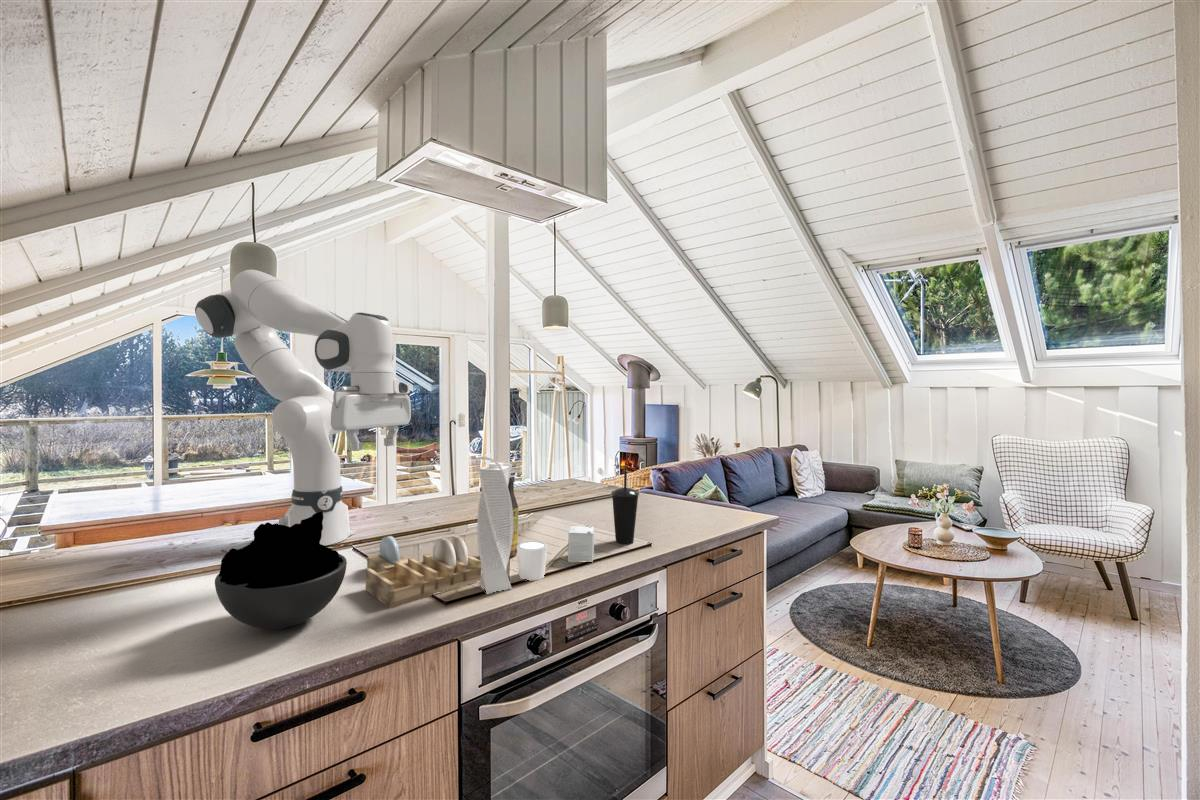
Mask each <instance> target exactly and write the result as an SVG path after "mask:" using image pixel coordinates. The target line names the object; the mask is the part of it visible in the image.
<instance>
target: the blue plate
mask: <svg viewBox="0 0 1200 800" xmlns="http://www.w3.org/2000/svg"><path fill="white" fill-rule="evenodd" d="M379 554H380V557H381V558H382V559H384V560H386V561H387V562H389V563H391V564H392V565H395V562H396V561H399V562H400V556H401V554H400V548H399V544H398V541H397V540H396V539H395V538H394V536H392V535H388V536H384V537H382V539H381V541H380V544H379Z"/></svg>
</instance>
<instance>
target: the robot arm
mask: <svg viewBox="0 0 1200 800" xmlns="http://www.w3.org/2000/svg"><path fill="white" fill-rule="evenodd" d="M194 311H195V317H196V320H197V322H198V324H199V326H200V327H201V328H202V330H203V331H204V332H205V333H206V334H207V335H209V336H212V338H217V339H218V338H219V339H221V338H229V337H232V336H233V335H236V336H235V338H234V347H235V349H236V351H237V353H238V355H239V358H241V361H243V363H244V365H245V366H246V368H247V369H248V371H249V372H250V373H251V374H252V375H253V376H254V377H255V379H256V381H258V382H259V384H260V385H261V386H262V387H263V389H265V391H266V392H267V393H268V394H269V395H270V396H271V397H272V398H274V399H276V400H279V401H281V402H280V403H278V404H277V405H276V406H275V407H274V410H273V411H272V416H271V421H272V425H273V428H274V430H275V432H277V433H278V434H279V435H280V436H281V437H282V438H283V439H284V440H285V441H286V444H287V446H288V448H289V451H290V454H291V458H292V463H293V489H292V492H291V499H290V500H291V501H290V502H291V504H290V507H289V508H288V510H287V511H285V513H284V516H283V517H281V516H280V517H278V524H279V525H285V526H289V527H291V526H293V525H294V524H300V523H301V520H304V519H307V518H309V517H312V515H313V514H315V513H318V512H321V511H322V512H323V518H324V519H323V521H322V524H323V530H322V535H321V540H320V544H321V545H324V546H329V545H334V544H338V543H340V542H343V541H344V540H347V538H349V537H350V536H352V535H354V534H356V532H355V529H353V528H350V520H349V519H350V516H349V506H348V505H347V504H346V503H344V502H343V501H342V500H343V496H344V495H343V494H344V491H343V486H342V484H341V458H340V456H339V455H338V453H336V452H335V451H334V450H333V447H332V445H331V441H330V437H329V436H330V435H336V434H340V433H342V432H344V431H345V435H346V438H347V439H348V440H349V442H350V450H351V451H353V452H357V451H362V450H364V449H363V441H360V440H359V438H358V435H359V434H360V430H363V429H364V430H366V429H374V428H375V429H376V428H386V431H388V432H387V435H386V437H385V438H383V445H384V447H392V446H393V447H394V446H395V438H396V437H397V434H398V431H399V426H406V425H409V423H410V421H411V419H412V418H411V417H412V403H411V397H410V396H409V395H408V394H410V393H411V385H410V384H409V383H406V382H404V381H401V380H400V379H398V378H396V377H395V371H394V368H393V360H394V354H395V352H394V346H395V345H394V333H393V328H392V324H391V321H390V319H388V318H387V317H386V316H383V315H379V314H374V313H373V314H372V313H368V312H356V313H353V314H352V316H351V317H350V318H349V319H348V320H346V319H344V318H343V317H341V316H339V315H337V314H335V313H333V312H331V311H330V310H328V309H327V308H325V307H323V306H321V305H320V304H318V303H317V302H315V301H313V300H312V299H310V298H308V297H307V296H305V295H303V294H302V293H300V292H299V291H297V290H296V289H295V288H293V287H292V286H290V285H289V284H287V283H286V282H284V281H283V280H281V279H279V278H278V277H275V276H273V275H271V274H268V273H266V272H263V271H261V270H257V269H246V270H243V271H241V272H239V273H237V274H236V275H235V276H234V278H233V279H232V280H231V284H230V289H229V290H226V291H222V292H220V293H217V294H211V295H208V296H206V297H204V298H202V299H200V300H199V301H198V302H197V303H196V306H195V308H194ZM277 331H279V332H282V333H283V332H284V333H290V334H291V333H293V334H298V335H299V334H301V335H309V336H315V337H317V339H316V340H315V343H314V356H315V358H316V361H317V363H318V364H319V365H320V366H321V367H322V368H323V369H325V370H327V371H332V372H342V373H343V372H344V373H350V385H349V386H346V385H342V386H339V387H338V388H337V389H336V390H335V391H334V390H333V389H332V388H330V387H329V386H327V385H326V383H324V382H323V381H321V380H320V379H319V378H317V377H316V376H315V375H314V374H312V372H310V371H309V369H307V368H306V366H305V365H304V364H303V363H302V362H301V360H300V359H299V358H298V357H297V356H296V355H295V354H294V352H293V351H292V350H291V349H290V348H289V346H287V344H286V343H285V342H284V341H283V340H282V339H281V338H280V337H279V335H278V333H277Z"/></svg>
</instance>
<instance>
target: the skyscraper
mask: <svg viewBox="0 0 1200 800" xmlns="http://www.w3.org/2000/svg"><path fill="white" fill-rule="evenodd" d="M479 460H486V461H489V463H488V465H485V466H484V467H481V466H480V462H479ZM475 462H476V466H477V469H478V474H479V480H480V485H481V486H480V487H481V492H480V497H479V503H478V510H477V523H476V524H477V525H476V527H477V529H476V531H477V545H478V546H477V547H478V556H479V560H480V562H481V579H480V582H478V586H479V585H480V586H482V587H483V588H484V589H485V590H486V592H485V593H486V595H490V594H493V592H495V593H497V592H496V591H499V592H503V591H502V590H504V591H508V589H509V590H513V588H512V585H511V582H510V579H509V575H508V573H507V569H508V565H509V560H510V557H509V556H510V551H511V546H512V538H513V508H512V502H511V497H510V493H509V489H508V484H509V480H510V475H512V474H511V473H512V469H513V464H512V463H510V462H507V461H498V460H497V461H496V460H495V459H494V458H491V457H487V456H479V457H476V458H475ZM480 586H479V587H480Z"/></svg>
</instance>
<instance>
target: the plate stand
mask: <svg viewBox="0 0 1200 800" xmlns="http://www.w3.org/2000/svg"><path fill="white" fill-rule="evenodd" d="M366 559H367V560H366V563H367V565H366V566H367V567H366V568H371V569H372V570H374V571H375V572H377V573H379V572H383V571H387V570H391V569H395V565H392V564H391V563H389V562H387V561H386V560H384V559H382V558H381V557H380V553H377V554H373V555H369V556H366ZM400 562H401V563H403V564H405V565H406V566H407V565H408V558H405V557H403V556H401V555H400Z"/></svg>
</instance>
